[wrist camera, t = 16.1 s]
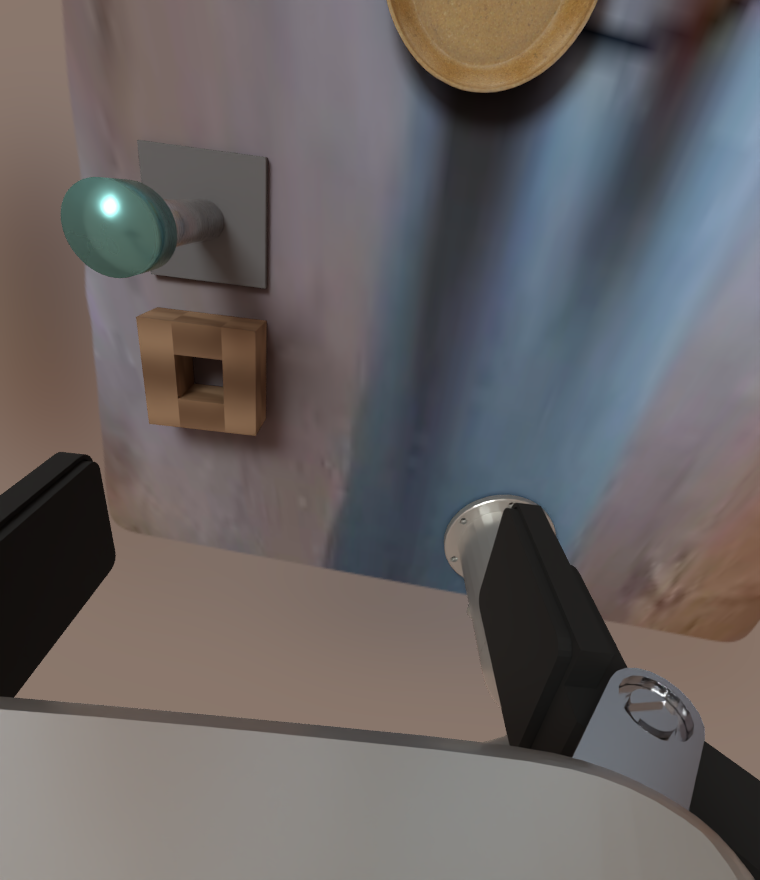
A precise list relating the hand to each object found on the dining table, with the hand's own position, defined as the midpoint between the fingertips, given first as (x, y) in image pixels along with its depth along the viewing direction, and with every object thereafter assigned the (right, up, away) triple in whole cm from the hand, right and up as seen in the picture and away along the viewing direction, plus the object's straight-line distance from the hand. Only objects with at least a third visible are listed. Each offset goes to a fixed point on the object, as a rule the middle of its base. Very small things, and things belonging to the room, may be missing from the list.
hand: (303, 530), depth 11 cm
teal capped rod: (-13, +20, +28) cm, 37 cm away
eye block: (-14, +9, +34) cm, 38 cm away
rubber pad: (-13, +21, +28) cm, 37 cm away
